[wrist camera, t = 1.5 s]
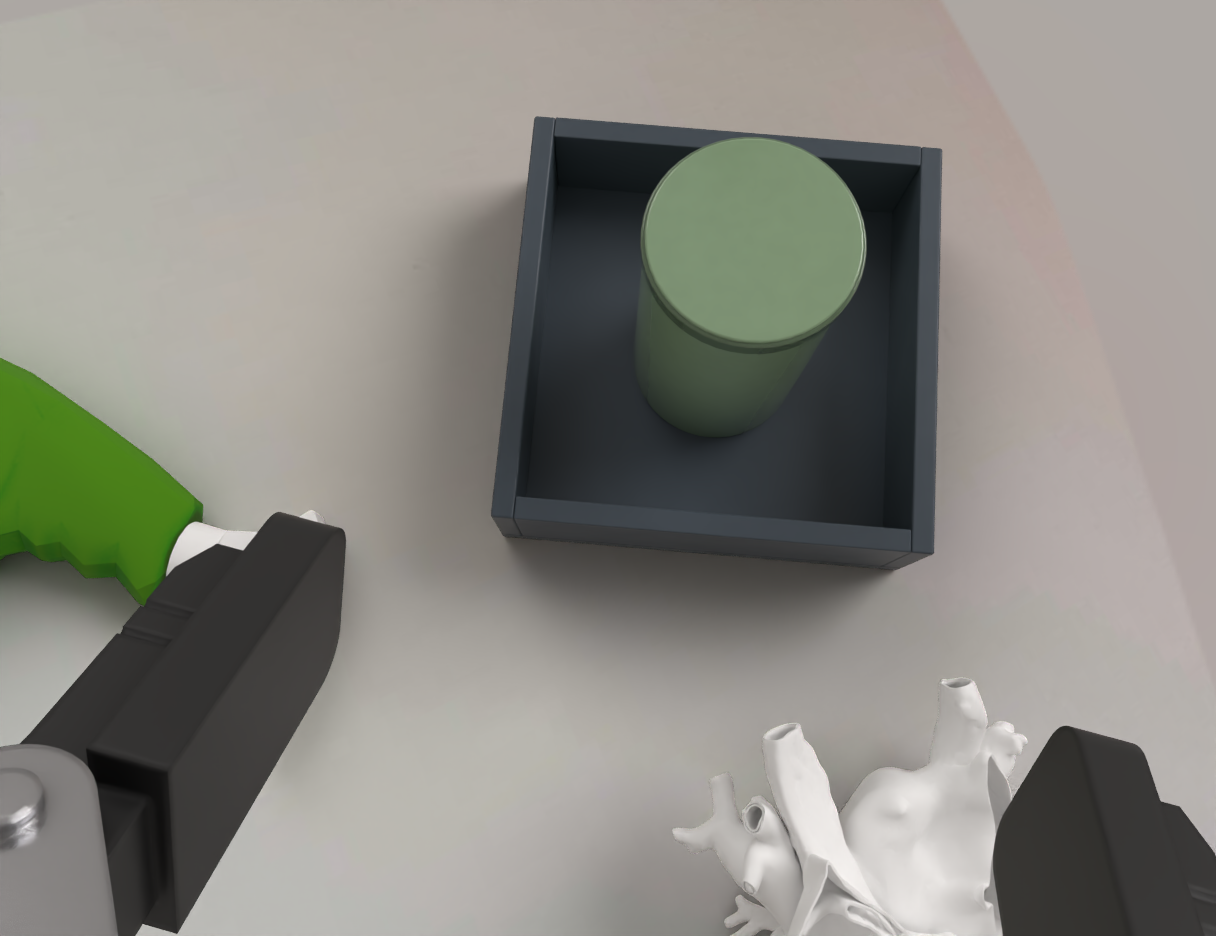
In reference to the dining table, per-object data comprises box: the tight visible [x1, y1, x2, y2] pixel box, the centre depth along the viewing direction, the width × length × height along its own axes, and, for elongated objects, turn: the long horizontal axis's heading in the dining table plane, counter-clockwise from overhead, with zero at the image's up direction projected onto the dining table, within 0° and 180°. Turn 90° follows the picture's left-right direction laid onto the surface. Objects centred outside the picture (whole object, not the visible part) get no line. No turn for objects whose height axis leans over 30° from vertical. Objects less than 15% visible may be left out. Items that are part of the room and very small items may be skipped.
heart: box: [673, 677, 1028, 936], centre depth 31 cm, size 12×7×12 cm
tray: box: [491, 117, 942, 570], centre depth 35 cm, size 13×13×4 cm
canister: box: [634, 137, 867, 438], centre depth 32 cm, size 6×6×10 cm
